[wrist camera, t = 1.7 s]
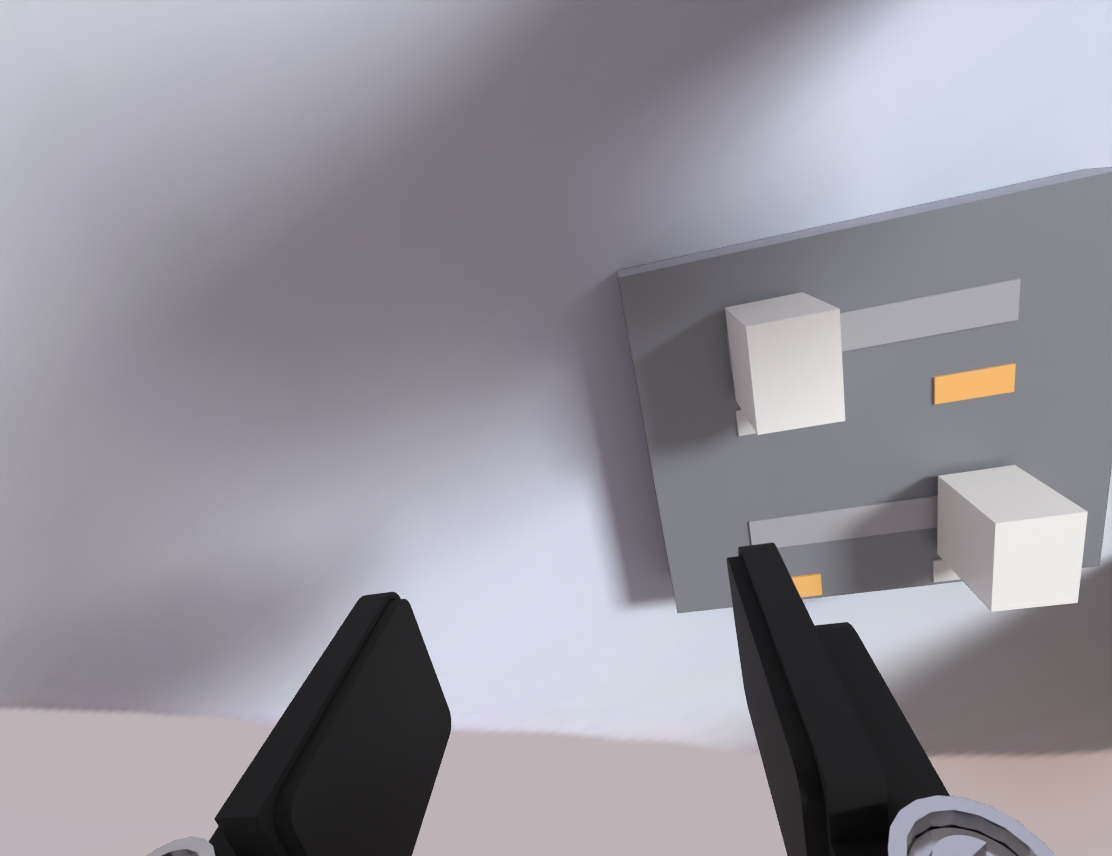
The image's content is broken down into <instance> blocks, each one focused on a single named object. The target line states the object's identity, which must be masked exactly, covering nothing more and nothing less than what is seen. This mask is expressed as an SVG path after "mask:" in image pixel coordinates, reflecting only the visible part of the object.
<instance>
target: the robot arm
mask: <svg viewBox="0 0 1112 856" xmlns="http://www.w3.org/2000/svg"><path fill="white" fill-rule="evenodd" d="M727 568H728V575H729V582H730V589H731V597H732V604H733V611H734V618H735V626H736V633H737V640H738V647H739V655H740V662H741V669H742V676H743V684H744V690H745V695H746V700H747V704H748V709H749V713H750V716H751V720H752V724H753V728H754V731H755V735H756V739H757V743H758V746H759V750H760V754H761V758H762V761H763V765H764V769H765V773H766V776H767V780H768V784H769V787H770V791H771V795H772V799H773V802H774V806H775V810H776V814H777V818H778V821H779V825H780V829H781V832H782V836H783V840H784V844H785V848H786V851H787V855H788V856H1056V855H1055V854H1054V853H1053V852H1052V851H1051V849H1050V848H1049V847H1048V846H1047V845H1046V843H1045V842H1044V841H1042V840H1041V839H1040V838H1038V837H1037V836H1036V835H1035V834H1033V833H1032V832H1031V831H1030V830H1029V829H1027V828H1026V827H1025V826H1024V825H1022V824H1021V823H1020V822H1019V821H1017V820H1015V819H1013V818H1011V817H1009V816H1008V815H1006V814H1004V813H1002V812H1000V811H998V810H996V809H995V808H993V807H991V806H988V805H985V804H982V803H979V802H975V801H972V800H969V799H966V798H962V797H951V796H949V794H948V792H947V790H946V788H945V787H944V785H943V783H942V781H941V780H940V778H939V776H938V774H937V773H936V771H935V769H934V767H933V766H932V764H931V762H930V760H929V759H928V757H927V755H926V753H925V751H924V750H923V748H922V746H921V744H920V743H919V741H918V739H917V737H916V736H915V734H914V732H913V730H912V729H911V727H910V725H909V723H908V722H907V720H906V718H905V716H904V715H903V713H902V711H901V709H900V708H899V706H898V704H897V702H896V701H895V699H894V697H893V695H892V694H891V692H890V690H889V688H888V687H887V685H886V683H885V681H884V680H883V678H882V676H881V674H880V673H879V671H878V669H877V667H876V666H875V664H874V662H873V660H872V658H871V657H870V655H869V653H868V651H867V650H866V648H865V646H864V644H863V643H862V641H861V639H860V637H859V636H858V634H857V632H856V631H855V629H854V628H853V627H852V625H850V624H849V623H848V622H845V623H835V624H826V625H816V626H814V624H813V622H812V620H811V618H810V616H809V613H808V611H807V609H806V607H805V605H804V603H803V601H802V599H801V597H800V595H799V593H798V590H797V588H796V586H795V584H794V582H793V580H792V578H791V576H790V574H789V572H788V569H787V567H786V565H785V563H784V561H783V559H782V557H781V555H780V553H779V551H778V549H777V547H776V545H775V543H773V542H772V543H765V544H757V545H749V546H741V547H738V556H736V557H728V558H727ZM450 731H451V715H450V711H449V708H448V705H447V703H446V700H445V697H444V694H443V692H442V689H441V686H440V684H439V681H438V678H437V676H436V673H435V670H434V667H433V665H432V662H431V659H430V657H429V654H428V651H427V649H426V646H425V643H424V640H423V638H422V635H421V632H420V630H419V627H418V624H417V622H416V619H415V616H414V613H413V611H412V608H411V605H410V603H409V602H408V601H407V600H406V599H400V597H399V595H398V594H397V593H395V592H387V593H380V594H372V595H365V596H362V597H361V598H360V599H359V600H358V601H357V603H356V604H355V606H354V607H353V609H352V610H351V612H350V613H349V615H348V616H347V618H346V619H345V621H344V622H343V624H342V626H341V627H340V629H339V630H338V632H337V633H336V635H335V636H334V638H333V639H332V641H331V642H330V644H329V645H328V647H327V648H326V650H325V651H324V653H323V654H322V656H321V657H320V659H319V660H318V662H317V664H316V665H315V667H314V668H313V670H312V671H311V673H310V674H309V676H308V677H307V679H306V680H305V682H304V683H303V685H302V686H301V688H300V689H299V691H298V692H297V694H296V695H295V697H294V699H293V700H292V702H291V703H290V705H289V706H288V708H287V709H286V711H285V712H284V714H283V715H282V717H281V718H280V720H279V721H278V723H277V724H276V726H275V727H274V729H273V730H272V732H271V733H270V735H269V737H268V738H267V740H266V741H265V743H264V744H263V746H262V747H261V749H260V750H259V752H258V753H257V755H256V756H255V758H254V760H253V761H252V762H251V764H250V765H249V767H248V768H247V770H246V771H245V773H244V775H243V776H242V778H241V779H240V781H239V782H238V784H237V785H236V787H235V788H234V790H233V791H232V793H231V794H230V796H229V797H228V799H227V801H226V802H225V803H224V805H223V806H222V808H221V810H220V811H219V813H218V814H217V816H216V817H215V821H216V822H217V824H218V828H217V830H216V831H215V833H214V834H213V836H212V837H211V839H210V841H209V842H208V841H207V840H206V839H204V838H197V837H188V838H183V839H179V840H175V841H172V842H170V843H168V844H166V845H164V846H162V847H160V848H158V849H156V850H154V851H153V852H151V853H150V854H149V855H147V856H412V853H413V850H414V846H415V843H416V840H417V837H418V834H419V831H420V828H421V824H422V821H423V818H424V815H425V812H426V809H427V805H428V802H429V799H430V796H431V793H432V790H433V786H434V783H435V780H436V777H437V774H438V770H439V767H440V764H441V761H442V758H443V755H444V751H445V748H446V745H447V742H448V739H449V735H450Z"/></svg>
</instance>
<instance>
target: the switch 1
mask: <svg viewBox="0 0 1112 856" xmlns="http://www.w3.org/2000/svg"><path fill="white" fill-rule="evenodd" d="M725 313H726V322H727V330H728V339H729V347H730V356H731V364H732V373H733V381H734V390H735V398H736V401H737V403H738V405H739V406H740V408H741V409H742V411H743V413H744V414H745V416H746V417H747V419H748V421H749V422H750V424H751V425H752V427H753V429H754V430H755V432H756V433H757V435H761V434H767V433H773V432H779V431H786V430H792V429H798V428H804V427H811V426H817V425H823V424H829V423H835V422H842V421H845V404H844V384H843V364H842V344H841V324H840V309H839V308H837V307H835V306H832V305H830V304H828V303H826V302H824V301H821V300H819V299H817V298H815V297H812V296H810V295H808V294H806V293H803V292H801V293H796V294H791V295H786V296H781V297H776V298H771V299H766V300H761V301H755V302H750V303H745V304H740V305H735V306H730V307H725Z"/></svg>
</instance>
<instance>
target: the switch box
mask: <svg viewBox="0 0 1112 856" xmlns="http://www.w3.org/2000/svg"><path fill="white" fill-rule="evenodd" d="M617 271H618V282H619V288H620V293H621V299H622V305H623V310H624V316H625V321H626V327H627V333H628V338H629V344H630V349H631V355H632V361H633V366H634V372H635V377H636V383H637V389H638V394H639V400H640V405H641V411H642V417H643V422H644V428H645V433H646V439H647V445H648V450H649V456H650V461H651V467H652V473H653V478H654V484H655V489H656V495H657V501H658V506H659V512H660V518H661V523H662V529H663V534H664V540H665V546H666V551H667V557H668V562H669V568H670V574H671V579H672V585H673V590H674V596H675V602H676V607H677V613H685V612H693V611H702V610H711V609H720V608H729V607H733V604H732V597H731V589H730V582H729V575H728V568H727V558H728V557H736V556H738V547H741V546H749V545H757V544H765V543H772V542H773V543H775V545H776V547H777V549H778V551H779V553H780V555H781V557H782V559H783V561H784V563H785V565H786V567H787V569H788V572H789V574H790V576H791V578H792V580H793V582H794V584H795V586H796V588H797V590H798V593H799V595H800V597H801V599H809V598H818V597H827V596H836V595H845V594H854V593H863V592H871V591H880V590H889V589H898V588H907V587H916V586H925V585H934V584H943V583H952V582H960V581H962V580H961V579H960V578H959V577H958V576H957V574H956V573H955V572H954V571H953V570H952V569H951V568H950V567H949V566H948V565H947V564H946V563H945V562H944V561H943V559H942V558H941V557H940V556H939V555H938V554H937V528H938V476H940V475H947V474H954V473H961V472H968V471H975V470H982V469H989V468H996V467H1003V466H1010V465H1016V466H1017V467H1019V468H1020V469H1022V470H1024V471H1025V472H1027V473H1028V474H1030V475H1031V476H1033V477H1034V478H1036V479H1038V480H1039V481H1041V482H1042V483H1044V484H1045V485H1047V486H1049V487H1050V488H1052V489H1053V490H1055V491H1056V492H1058V493H1059V494H1061V495H1063V496H1064V497H1066V498H1067V499H1069V500H1070V501H1072V502H1073V503H1075V504H1077V505H1078V506H1080V507H1081V508H1083V509H1084V510H1086V511H1088V515H1087V524H1086V533H1085V542H1084V551H1083V560H1082V568H1085V567H1094V566H1100V558H1101V550H1102V542H1103V534H1104V525H1105V517H1106V509H1107V501H1108V493H1109V485H1110V477H1111V469H1112V167H1104V168H1092V169H1083V170H1078V171H1073V172H1069V173H1064V174H1060V175H1055V176H1050V177H1046V178H1041V179H1037V180H1032V181H1027V182H1023V183H1018V184H1013V185H1009V186H1004V187H1000V188H995V189H990V190H986V191H981V192H976V193H972V194H967V195H963V196H958V197H953V198H949V199H944V200H940V201H935V202H930V203H926V204H921V205H916V206H912V207H907V208H903V209H898V210H893V211H889V212H884V213H880V214H875V215H870V216H866V217H861V218H856V219H852V220H847V221H843V222H838V223H833V224H829V225H824V226H820V227H815V228H810V229H806V230H801V231H796V232H792V233H787V234H783V235H778V236H773V237H769V238H764V239H759V240H755V241H750V242H746V243H741V244H736V245H732V246H727V247H723V248H718V249H713V250H709V251H704V252H699V253H695V254H690V255H686V256H681V257H676V258H672V259H667V260H663V261H658V262H653V263H649V264H644V265H639V266H635V267H630V268H626V269H621V270H617ZM801 292H803V293H806V294H808V295H810V296H812V297H815V298H817V299H819V300H821V301H824V302H826V303H828V304H830V305H832V306H835V307H837V308H839V309H840V324H841V344H842V364H843V384H844V404H845V421H842V422H835V423H829V424H823V425H817V426H811V427H804V428H798V429H792V430H786V431H779V432H773V433H767V434H761V435H757V433H756V432H755V430H754V429H753V427H752V425H751V424H750V422H749V421H748V419H747V417H746V416H745V414H744V413H743V411H742V409H741V408H740V406H739V405H738V403H737V401H736V398H735V390H734V381H733V373H732V364H731V356H730V347H729V339H728V330H727V322H726V313H725V307H730V306H735V305H740V304H745V303H750V302H755V301H761V300H766V299H771V298H776V297H781V296H786V295H791V294H796V293H801Z"/></svg>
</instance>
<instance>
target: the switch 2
mask: <svg viewBox="0 0 1112 856" xmlns="http://www.w3.org/2000/svg"><path fill="white" fill-rule="evenodd" d="M1087 515H1088V511H1086V510H1084V509H1083V508H1081V507H1080V506H1078V505H1077V504H1075V503H1073V502H1072V501H1070V500H1069V499H1067V498H1066V497H1064V496H1063V495H1061V494H1059V493H1058V492H1056V491H1055V490H1053V489H1052V488H1050V487H1049V486H1047V485H1045V484H1044V483H1042V482H1041V481H1039V480H1038V479H1036V478H1034V477H1033V476H1031V475H1030V474H1028V473H1027V472H1025V471H1024V470H1022V469H1020V468H1019V467H1017V466H1016V465H1010V466H1003V467H996V468H989V469H982V470H975V471H968V472H961V473H954V474H947V475H940V476H938V528H937V554H938V555H939V556H940V557H941V558H942V559H943V561H944V562H945V563H946V564H947V565H948V566H949V567H950V568H951V569H952V570H953V571H954V572H955V573H956V574H957V576H958V577H959V578H960V579H961V580H962V581H963V582H964V583H965V584H966V585H967V586H968V587H969V588H970V589H971V591H972V592H973V593H974V594H975V595H976V596H977V597H978V598H979V599H980V600H981V601H982V602H983V603H984V604H985V606H986V607H987V608H988V609H989V610H990V611H991V612H993V611H1003V610H1013V609H1022V608H1032V607H1042V606H1051V605H1061V604H1071V603H1078V596H1079V587H1080V578H1081V569H1082V560H1083V551H1084V542H1085V533H1086V524H1087Z"/></svg>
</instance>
